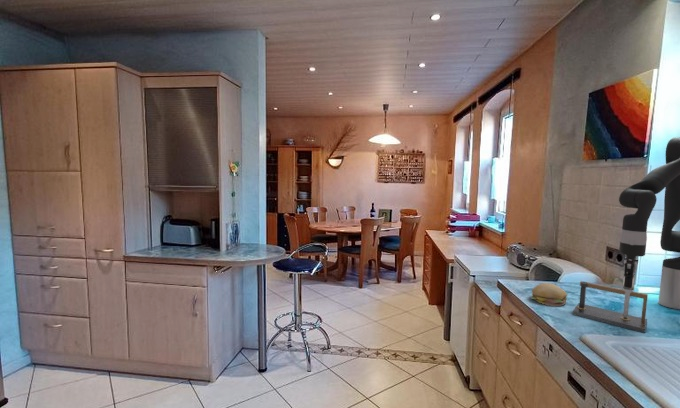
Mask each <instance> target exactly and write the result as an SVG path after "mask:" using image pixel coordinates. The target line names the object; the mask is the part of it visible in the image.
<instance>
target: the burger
mask: <svg viewBox="0 0 680 408" xmlns="http://www.w3.org/2000/svg"><path fill="white" fill-rule="evenodd" d="M531 293H532V294H531V295H532V296H531V297H530V299H532V300H534V301H536V302H537V303H539V304H541V303H542V304H543V305H544V304H545V306H549V307H550V306H551V307H561V306H564V305H565V304H566V303H567V300H568V298H567V297H568V293H567V292H566V291H565V290H564V289H563V288H561V286H558V285H556V284H553V283H550V282H549V283H548V282H545V283H543V282H542V283H539V284H537V285H536V286H534V287H533V288H532V289H531ZM542 304H541V305H542Z"/></svg>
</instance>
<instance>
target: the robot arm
mask: <svg viewBox="0 0 680 408" xmlns="http://www.w3.org/2000/svg"><path fill="white" fill-rule="evenodd" d="M664 189H665V190H664ZM663 190H664V197H663V198H664V202H663V204H664V205H663V207H664V208H663V222H662V227H661V235H660V242H659V243H660V248H661V249H662V251H666V252H672V253H680V230H673V229H674V227H675V225H676V224H677V223H678V222H680V136H676V137H672V138H670V140H668V142H667V144H666V147H665V164H663V165H660V166H657V167H656V168H654V169H652V170H651V171H649V172H648V173H647V174H646V175H644V177H643V178H642V179H640V181H638V182H637V181H636V182H635V183H633V184H631V185H630V186H628V187H626V188H625V189H623V191H622V192H621V193H620V195H619V196H618V202H619V204H620V205H621V206H622V207H625V208H630V209H637V210H636V211H635V213H628V214H625V215H624V216H623V219H622V227H621V233H620V239H619V248H618V253H620V254H622V255H626V257H625V258H623V271H624V274H623V278H624V277H625V283H624V286H625V287H628V288H632V281H633V278H634V276H635V275H636V274H635V273H636V272H637V268H638V265H639V264H638V263H639V259H637V257H644V256H646V251H647V250H646V247H647V240H648V235H647V234H648V233H647V230H648V221H649V219H650V217H651V215H652V213H653V211H654V208H655V207H656V204H657V195H658V194H659V193H660V192H662V191H663ZM657 303H658V304H659V305H661V306H663V307H666V308H669V309H674V310H680V256H677V257H672V258H665V259H663V260H662V267H661V275H660V284H659V294H658V302H657Z"/></svg>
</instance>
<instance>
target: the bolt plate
mask: <svg viewBox="0 0 680 408" xmlns="http://www.w3.org/2000/svg"><path fill="white" fill-rule="evenodd" d="M579 286H580V294H579V303H577V305H576V306H575V307H574V308H573V310H572V315H574V316H578V317H581V318H585V319H589V320H593V321H598V322H601V323H604V324H608V325H612V326H616V327H621V328H625V329H628V330H632V331H634V332H635V331H636V332H639V333H643V334H645V333H646V329H647V328H646V327H647V323H648V319H647V318H646V313H647V304H648V296H649V293H643V292H638V291H634V290H632V292H631V293H630V297H633V298H639V299H643V301H642V308H641V309H642V311H641V317H640V316H635V315H630V314H628V318H624V317H623V312H618V311H613V310H609V309H605V308H601V307H598V306H597V307H596V306H593V305H588V304H586V303H585V302H586V296H587V295H586V294H587V288H589V289H594V290H595V289H596V290H598V291H604V292H610V293H614V294H619V295H624V296H625V292H624V288H618V287H617V288H616V287H612V286H609V285H604V284H603V285H602V284H597V283H593V282H587V281H582V280H580V282H579Z"/></svg>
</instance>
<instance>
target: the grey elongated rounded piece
mask: <svg viewBox="0 0 680 408" xmlns="http://www.w3.org/2000/svg"><path fill="white" fill-rule="evenodd" d="M635 279H636V277H635V275H634V278H633V281H632V288H628V287H625V286H624V283H625V277H624V276H623V281H622V282H623V284H622V289H623V290H624V292H625V295H624V301H623V302H624V303H623V311H622V313H623V317H624V318H628V315H629V310H630V309H629V308H630V299H631V298H630V297H631V296H630V293H631V292H632V291H634V290H635Z"/></svg>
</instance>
